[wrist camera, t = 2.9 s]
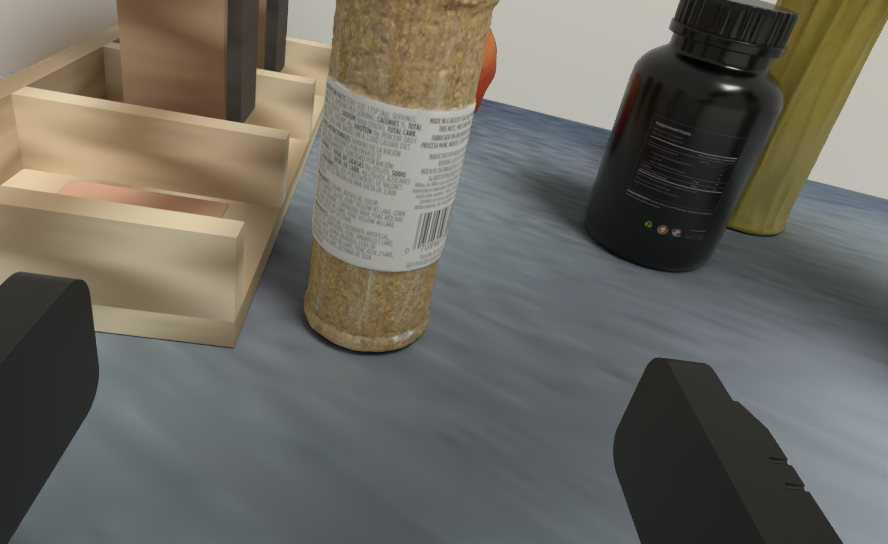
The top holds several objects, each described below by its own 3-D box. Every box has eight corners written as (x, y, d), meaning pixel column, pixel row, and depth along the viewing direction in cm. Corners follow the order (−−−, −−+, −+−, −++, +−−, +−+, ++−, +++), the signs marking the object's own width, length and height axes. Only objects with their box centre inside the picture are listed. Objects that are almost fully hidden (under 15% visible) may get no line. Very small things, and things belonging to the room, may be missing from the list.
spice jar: (372, 271, 25) (434, -116, 18) (453, 330, 23) (559, -88, 16) (274, 304, 22) (302, -147, 15) (356, 378, 20) (435, -118, 13)
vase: (710, 185, 43) (813, -43, 35) (797, 226, 39) (932, -18, 32) (666, 199, 39) (772, -55, 31) (759, 246, 35) (903, -28, 28)
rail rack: (326, 107, 41) (349, -123, 34) (233, 347, 20) (245, -137, 13) (152, 77, 39) (139, -170, 33) (-155, 300, 18) (-367, -274, 11)
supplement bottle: (582, 199, 36) (658, -25, 30) (699, 231, 35) (803, 8, 29) (576, 251, 30) (670, -15, 24) (717, 291, 29) (851, 28, 23)
